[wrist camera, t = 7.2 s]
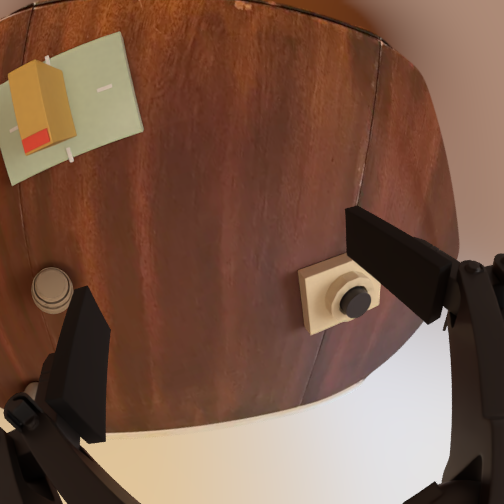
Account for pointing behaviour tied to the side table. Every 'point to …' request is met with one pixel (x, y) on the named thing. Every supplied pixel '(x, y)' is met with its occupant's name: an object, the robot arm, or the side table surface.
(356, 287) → the bell button
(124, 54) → the plate
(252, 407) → the side table surface
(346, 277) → the doorbell
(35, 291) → the door knob
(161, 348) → the side table surface
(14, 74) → the lock knob
